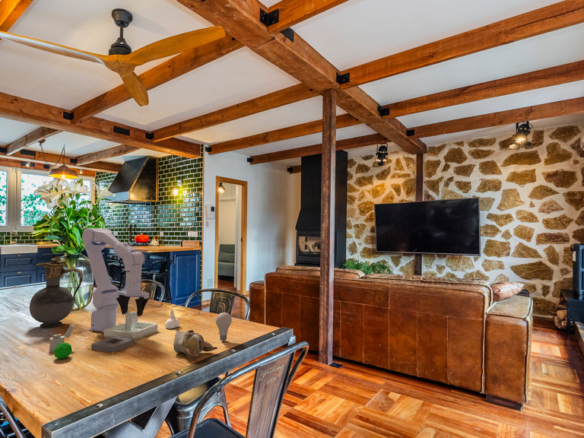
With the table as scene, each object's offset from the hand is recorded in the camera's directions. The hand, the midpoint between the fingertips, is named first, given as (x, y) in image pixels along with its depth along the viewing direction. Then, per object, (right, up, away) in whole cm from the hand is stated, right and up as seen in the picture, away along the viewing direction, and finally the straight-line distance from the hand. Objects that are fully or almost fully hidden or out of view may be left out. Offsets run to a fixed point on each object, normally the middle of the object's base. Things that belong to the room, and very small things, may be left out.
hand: (132, 314), depth 137 cm
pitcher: (-39, -8, +11) cm, 41 cm away
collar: (+1, -7, -15) cm, 17 cm away
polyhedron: (-10, -7, -26) cm, 29 cm away
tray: (0, -8, 0) cm, 8 cm away
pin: (0, -7, -1) cm, 7 cm away
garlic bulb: (+13, -9, +10) cm, 19 cm away
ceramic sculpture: (+31, -8, -21) cm, 38 cm away
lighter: (-16, -7, -18) cm, 25 cm away
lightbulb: (+39, -8, -7) cm, 40 cm away
